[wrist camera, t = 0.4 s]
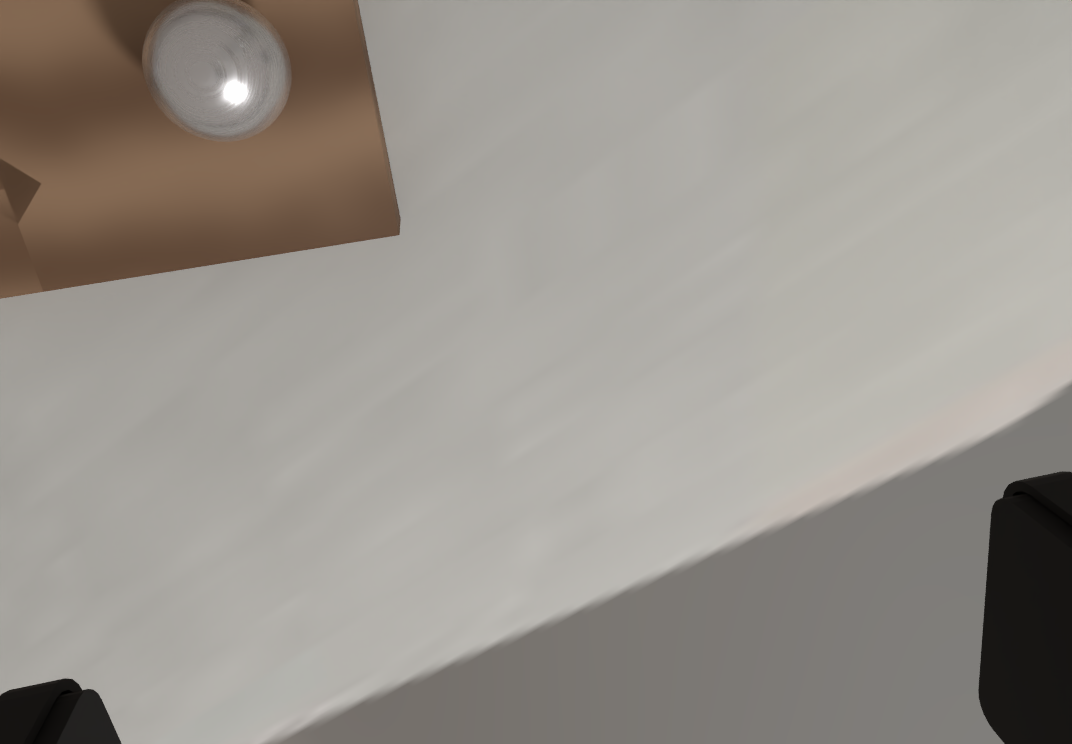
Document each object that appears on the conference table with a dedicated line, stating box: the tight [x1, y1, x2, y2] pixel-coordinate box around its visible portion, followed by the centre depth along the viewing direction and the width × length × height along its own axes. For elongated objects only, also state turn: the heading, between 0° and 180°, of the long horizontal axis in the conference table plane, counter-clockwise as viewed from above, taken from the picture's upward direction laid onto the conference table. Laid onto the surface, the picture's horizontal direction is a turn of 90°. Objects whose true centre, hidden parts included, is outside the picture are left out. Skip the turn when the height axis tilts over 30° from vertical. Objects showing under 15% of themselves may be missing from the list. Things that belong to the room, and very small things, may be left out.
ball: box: [142, 0, 292, 142], centre depth 31 cm, size 5×5×5 cm
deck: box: [0, 0, 400, 298], centre depth 34 cm, size 15×24×3 cm, turn 97°
